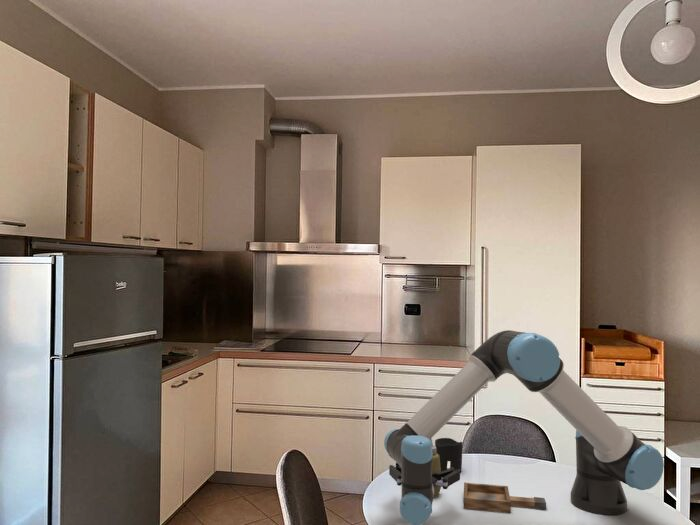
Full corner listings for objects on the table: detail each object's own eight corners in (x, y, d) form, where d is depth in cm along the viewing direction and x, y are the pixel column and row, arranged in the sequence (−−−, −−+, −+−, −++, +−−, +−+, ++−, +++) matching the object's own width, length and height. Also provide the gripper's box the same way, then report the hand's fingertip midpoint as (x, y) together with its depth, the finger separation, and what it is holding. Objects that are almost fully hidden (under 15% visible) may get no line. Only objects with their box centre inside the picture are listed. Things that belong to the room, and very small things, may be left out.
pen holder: (436, 474, 183) (436, 444, 183) (434, 466, 192) (434, 437, 193) (464, 475, 182) (464, 445, 183) (460, 467, 191) (460, 438, 192)
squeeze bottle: (412, 490, 168) (413, 431, 169) (438, 489, 169) (438, 431, 170) (419, 500, 160) (419, 438, 161) (445, 499, 161) (445, 438, 162)
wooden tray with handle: (542, 499, 162) (542, 488, 162) (548, 516, 149) (548, 505, 149) (464, 492, 167) (464, 482, 167) (463, 508, 154) (463, 497, 154)
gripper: (373, 499, 145) (385, 473, 166) (468, 507, 140) (468, 480, 160) (373, 470, 145) (385, 448, 166) (468, 478, 140) (468, 454, 161)
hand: (426, 464), depth 163 cm, fingers open, 13 cm apart
